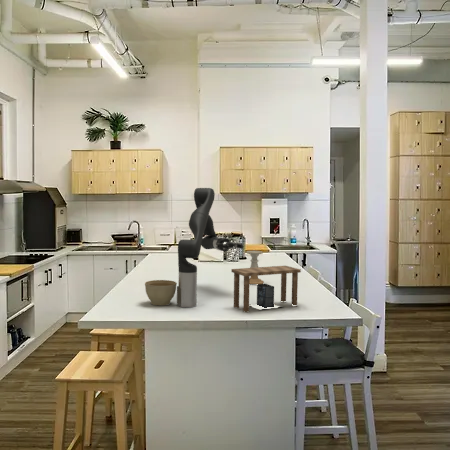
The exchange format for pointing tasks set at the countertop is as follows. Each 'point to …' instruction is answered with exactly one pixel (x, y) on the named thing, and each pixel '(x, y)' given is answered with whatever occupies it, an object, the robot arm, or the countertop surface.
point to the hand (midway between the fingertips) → (235, 246)
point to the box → (265, 295)
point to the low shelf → (264, 271)
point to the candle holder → (254, 266)
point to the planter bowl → (160, 291)
